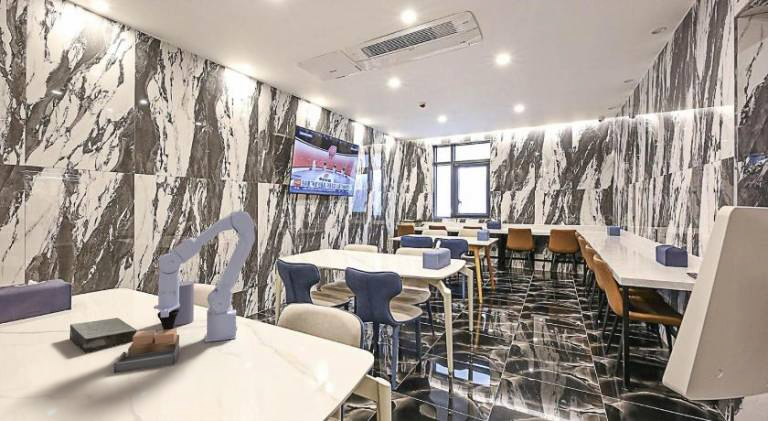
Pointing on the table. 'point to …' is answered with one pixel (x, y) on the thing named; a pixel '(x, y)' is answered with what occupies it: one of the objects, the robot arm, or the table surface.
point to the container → (185, 303)
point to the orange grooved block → (153, 347)
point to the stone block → (101, 334)
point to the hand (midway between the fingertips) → (168, 333)
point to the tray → (146, 360)
